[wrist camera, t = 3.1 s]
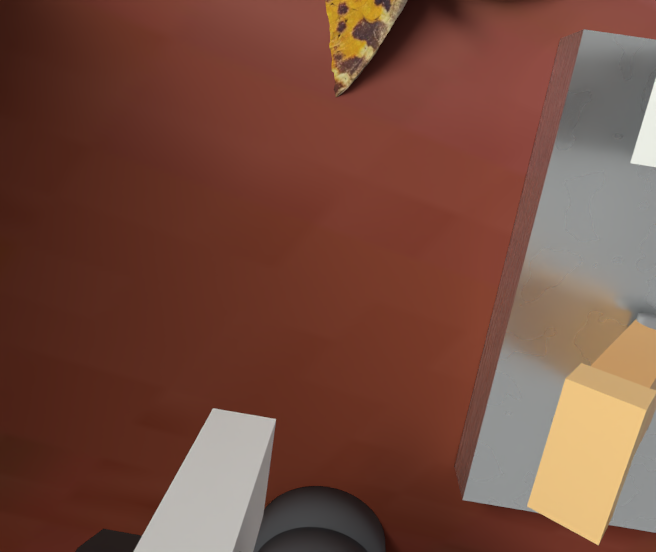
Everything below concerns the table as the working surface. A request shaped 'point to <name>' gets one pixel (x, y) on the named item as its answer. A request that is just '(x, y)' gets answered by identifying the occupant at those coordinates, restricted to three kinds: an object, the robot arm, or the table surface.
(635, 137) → the panel
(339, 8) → the butterfly model
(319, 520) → the grey stacked discs
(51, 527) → the table surface
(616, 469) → the paddle orange
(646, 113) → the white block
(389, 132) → the table surface
